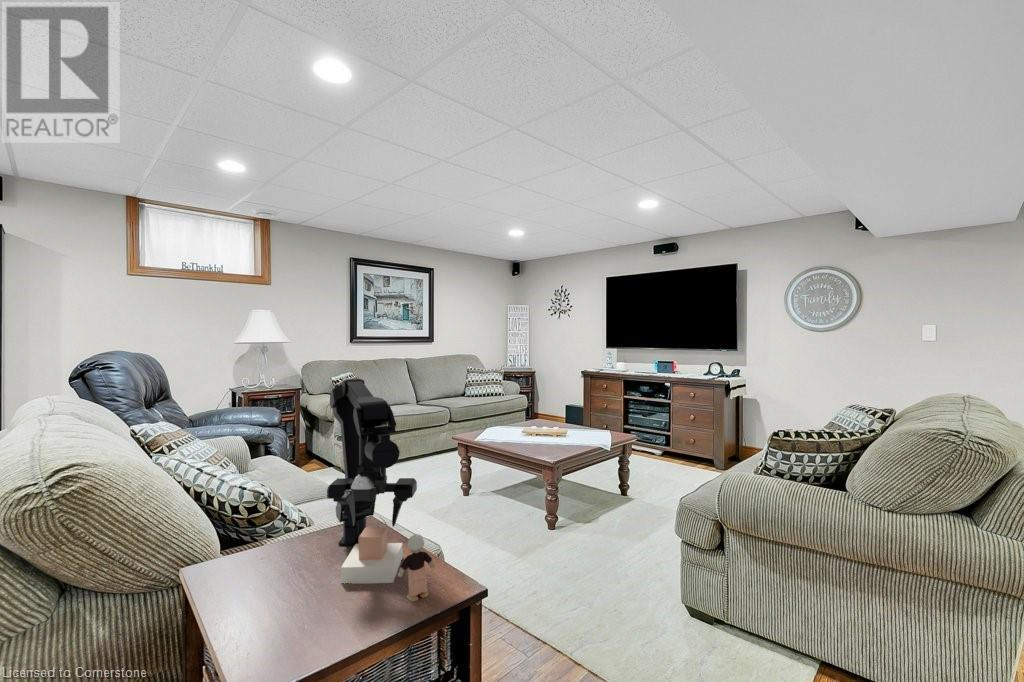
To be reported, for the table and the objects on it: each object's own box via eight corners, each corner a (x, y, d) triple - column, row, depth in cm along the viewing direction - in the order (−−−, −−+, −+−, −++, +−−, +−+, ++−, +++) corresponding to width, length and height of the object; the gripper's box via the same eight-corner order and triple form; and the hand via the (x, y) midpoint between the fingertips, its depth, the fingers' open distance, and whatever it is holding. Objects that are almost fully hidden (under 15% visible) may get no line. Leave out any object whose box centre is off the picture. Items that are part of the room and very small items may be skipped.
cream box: (355, 560, 112) (355, 543, 111) (402, 559, 112) (402, 542, 112) (341, 585, 101) (340, 567, 100) (393, 584, 101) (392, 566, 101)
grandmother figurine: (426, 585, 100) (426, 526, 99) (437, 593, 97) (436, 532, 97) (394, 600, 94) (393, 538, 94) (404, 608, 92) (404, 544, 91)
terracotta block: (365, 548, 109) (365, 527, 109) (387, 548, 109) (387, 527, 109) (358, 559, 104) (358, 537, 104) (381, 559, 104) (381, 537, 104)
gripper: (316, 467, 97) (317, 542, 98) (406, 467, 98) (407, 541, 98) (336, 453, 108) (336, 520, 109) (417, 453, 109) (417, 520, 109)
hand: (373, 525), depth 106 cm, fingers open, 9 cm apart
